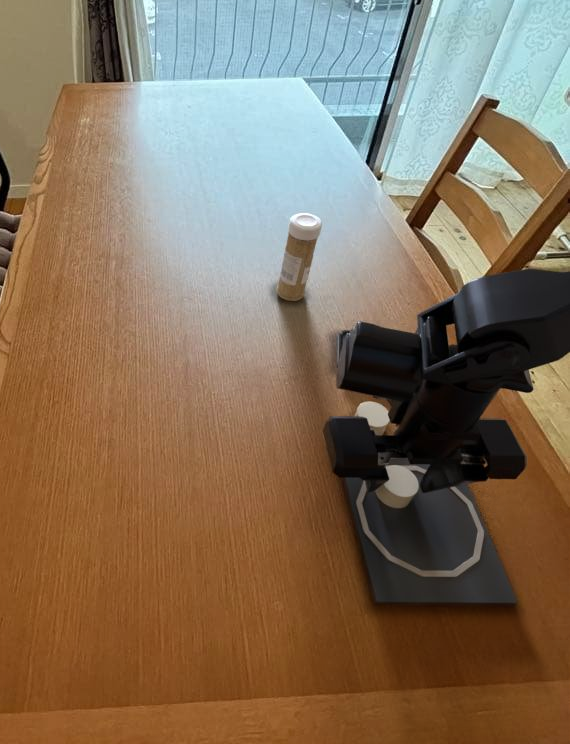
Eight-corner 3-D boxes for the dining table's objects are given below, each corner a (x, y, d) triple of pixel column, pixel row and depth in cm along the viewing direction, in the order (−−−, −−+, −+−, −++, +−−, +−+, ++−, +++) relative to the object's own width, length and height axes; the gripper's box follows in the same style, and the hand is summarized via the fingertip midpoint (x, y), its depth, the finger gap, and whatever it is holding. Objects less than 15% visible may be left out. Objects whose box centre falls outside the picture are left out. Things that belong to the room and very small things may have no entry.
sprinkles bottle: (309, 298, 88) (328, 226, 78) (284, 304, 86) (300, 232, 77) (295, 281, 91) (312, 209, 81) (270, 287, 89) (284, 214, 80)
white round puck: (405, 477, 64) (412, 465, 62) (416, 508, 61) (423, 497, 60) (370, 476, 64) (377, 464, 62) (380, 508, 61) (387, 496, 60)
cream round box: (379, 413, 72) (385, 401, 70) (388, 439, 69) (394, 427, 67) (348, 413, 72) (353, 401, 70) (356, 438, 69) (361, 426, 67)
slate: (449, 453, 68) (453, 448, 67) (513, 606, 55) (519, 602, 54) (335, 452, 68) (337, 447, 67) (373, 605, 55) (377, 601, 54)
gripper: (511, 340, 57) (452, 430, 68) (329, 338, 56) (300, 429, 68) (565, 430, 49) (488, 515, 60) (355, 427, 49) (317, 513, 60)
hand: (395, 488), depth 62 cm, fingers open, 6 cm apart
